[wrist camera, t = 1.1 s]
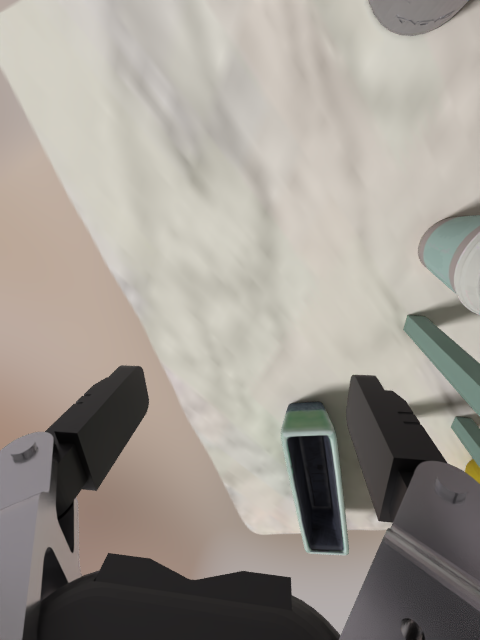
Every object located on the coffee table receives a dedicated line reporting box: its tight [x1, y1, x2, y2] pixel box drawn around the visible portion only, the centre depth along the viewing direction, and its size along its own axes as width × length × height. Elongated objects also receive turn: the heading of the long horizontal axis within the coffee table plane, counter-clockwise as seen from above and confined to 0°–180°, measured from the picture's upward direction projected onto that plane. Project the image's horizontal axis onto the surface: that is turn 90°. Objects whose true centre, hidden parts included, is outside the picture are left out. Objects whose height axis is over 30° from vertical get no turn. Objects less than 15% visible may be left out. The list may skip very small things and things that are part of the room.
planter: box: [281, 402, 349, 555], centre depth 43 cm, size 28×7×7 cm, turn 12°
